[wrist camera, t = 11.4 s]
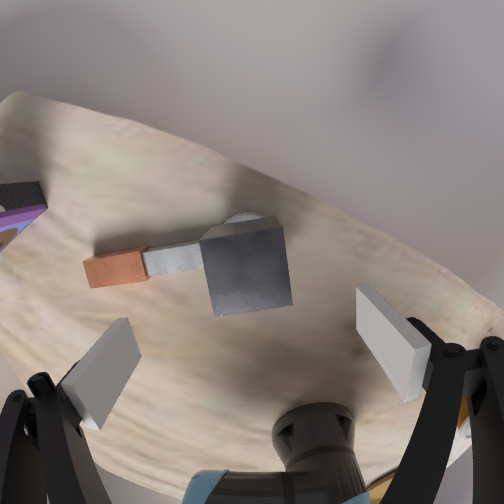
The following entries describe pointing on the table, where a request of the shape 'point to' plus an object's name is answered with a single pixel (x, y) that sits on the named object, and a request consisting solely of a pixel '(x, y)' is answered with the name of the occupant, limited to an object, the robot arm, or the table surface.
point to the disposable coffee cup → (464, 420)
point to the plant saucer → (379, 488)
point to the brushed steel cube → (246, 266)
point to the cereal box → (18, 208)
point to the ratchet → (149, 260)
